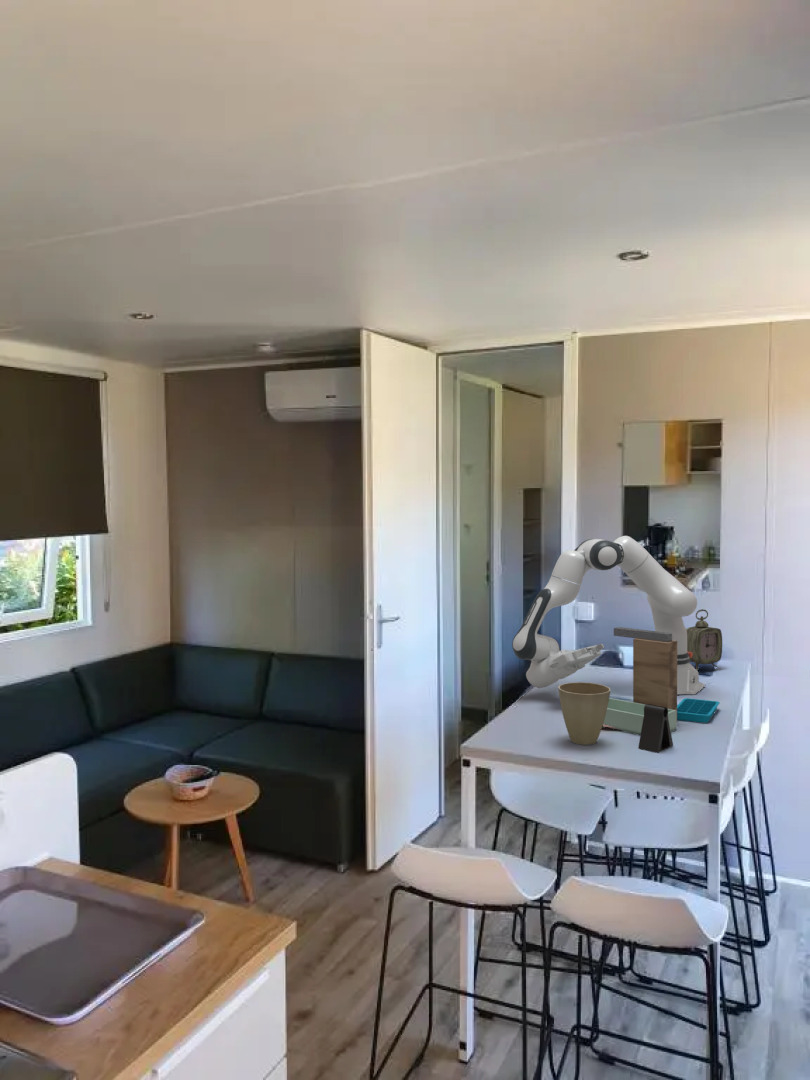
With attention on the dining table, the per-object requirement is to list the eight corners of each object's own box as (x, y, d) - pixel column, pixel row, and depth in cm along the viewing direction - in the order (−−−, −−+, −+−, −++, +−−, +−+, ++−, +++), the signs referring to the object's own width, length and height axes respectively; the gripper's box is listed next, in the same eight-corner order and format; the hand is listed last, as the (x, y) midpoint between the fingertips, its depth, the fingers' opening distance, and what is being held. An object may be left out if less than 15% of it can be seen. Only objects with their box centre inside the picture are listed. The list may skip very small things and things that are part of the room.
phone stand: (657, 753, 233) (657, 710, 232) (638, 748, 237) (638, 707, 237) (673, 746, 239) (673, 704, 239) (654, 741, 243) (654, 701, 243)
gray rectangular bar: (618, 634, 275) (618, 627, 275) (672, 641, 262) (672, 633, 262) (613, 635, 273) (613, 628, 273) (667, 642, 260) (667, 634, 260)
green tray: (598, 713, 275) (598, 695, 275) (676, 729, 255) (676, 710, 255) (576, 721, 266) (576, 702, 266) (655, 738, 247) (655, 718, 246)
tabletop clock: (697, 674, 332) (697, 612, 331) (679, 670, 340) (679, 609, 339) (722, 670, 339) (722, 609, 338) (704, 666, 347) (704, 606, 346)
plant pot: (562, 749, 238) (562, 693, 237) (555, 734, 253) (555, 682, 252) (615, 749, 237) (615, 693, 236) (605, 734, 252) (605, 682, 251)
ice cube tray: (720, 710, 278) (720, 701, 278) (709, 725, 261) (709, 715, 261) (684, 706, 284) (684, 697, 284) (671, 720, 267) (671, 711, 267)
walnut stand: (642, 715, 272) (642, 636, 271) (677, 722, 264) (677, 640, 262) (633, 719, 268) (633, 639, 266) (667, 726, 259) (667, 643, 258)
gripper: (543, 659, 283) (573, 643, 274) (577, 650, 297) (606, 635, 288) (550, 676, 281) (581, 661, 272) (584, 667, 295) (614, 652, 286)
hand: (594, 647), depth 280 cm, fingers open, 8 cm apart
